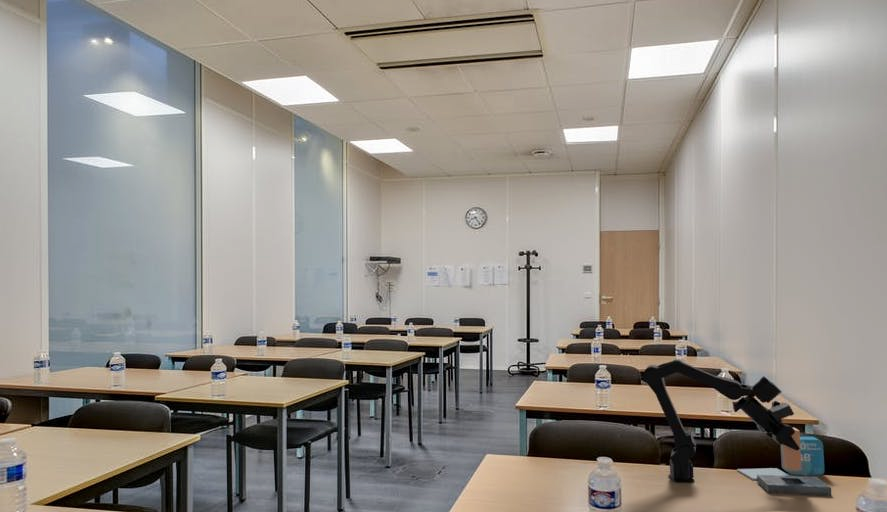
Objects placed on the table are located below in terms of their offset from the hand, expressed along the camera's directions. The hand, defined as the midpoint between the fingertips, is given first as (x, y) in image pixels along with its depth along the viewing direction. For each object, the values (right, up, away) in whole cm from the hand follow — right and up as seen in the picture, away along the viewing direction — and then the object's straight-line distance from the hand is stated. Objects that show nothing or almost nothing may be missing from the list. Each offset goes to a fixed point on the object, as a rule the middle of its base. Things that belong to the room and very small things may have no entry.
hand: (795, 447), depth 187 cm
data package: (+11, -14, +15) cm, 23 cm away
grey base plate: (-1, -13, 0) cm, 13 cm away
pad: (-2, -14, +14) cm, 19 cm away
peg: (-1, -7, 0) cm, 7 cm away
